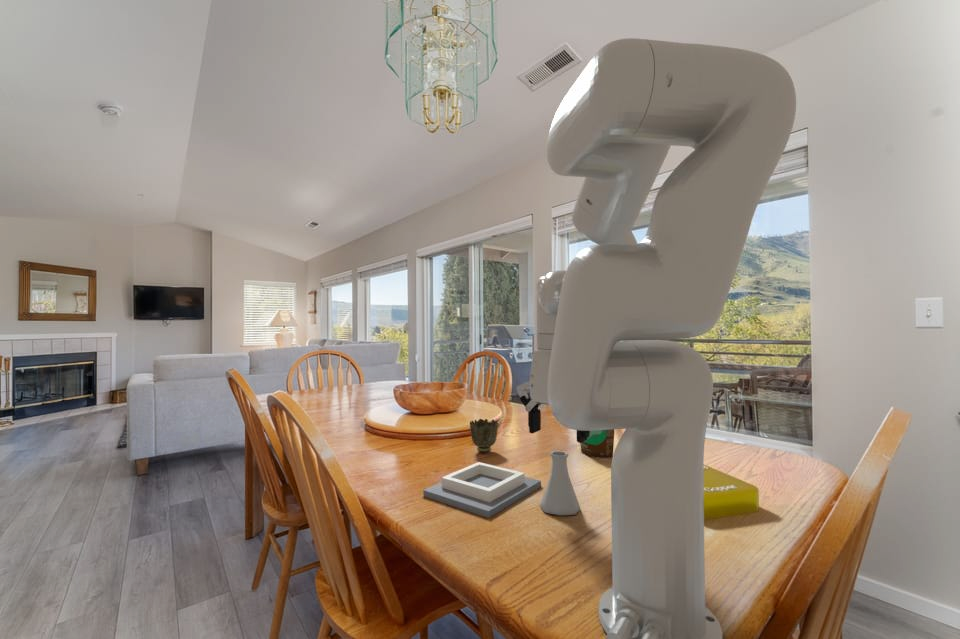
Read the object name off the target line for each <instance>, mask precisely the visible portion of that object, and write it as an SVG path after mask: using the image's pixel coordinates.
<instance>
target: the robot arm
mask: <svg viewBox="0 0 960 639" xmlns="http://www.w3.org/2000/svg"><path fill="white" fill-rule="evenodd" d="M796 95H797V94H796V89H795V84H794V82H793V78H792V77H791V75H790V74H789V71H787V69H786V68H785V67H784V66H783V65H782V64H781V63H780V62H779V61H777V60H775V59H773V58H771V57H770V56H767V55H765V54H762V53H759V52H756V51H751V50H747V49H746V50H745V49H741V48H735V47H731V46H721V45H712V44H700V43H689V42H688V43H687V42H686V43H685V42H674V41H666V40H665V41H664V40H656V39H647V38H636V37H635V38H633V37H631V38H630V37H629V38H621V39H615V40H613V41H610V42H609V43H606V44H605V45H604V46H602V47H601V48H600V49H599V50H598V51H597V52H596V53H595V54H594V55H593V57H592V58H591V59H590V60H589V62H588V63H587V65H586V66H585V67H584V69H583V70H582V72H581V73H580V75H579V76H578V78H577V79H576V81H574V83H573V85H572V86H571V87H570V89H569V90H568V92H567V93H566V95H565V96H564V97H563V100H562V101H561V102H560V105H559V107H558V108H557V110H556V112H555V115H554V118H553V119H552V121H551V122H552V123H551V125H550V129H549V132H548V135H547V136H548V137H547V143H546V156H547V157H546V158H547V159H546V160H547V161H548V162H547V163H548V165H549V168H550V169H551V170H552V171H553V172H554V173H555V175H558V176H562V177H578V178H579V177H581V178H583V180H582V184H581V187H580V189H579V193H578V196H577V198H576V201H575V204H574V207H573V210H572V215H571V219H572V224H573V225H574V227H575V229H576V230H577V231H578V232H579V233H580V235H582V236H583V237H585V238H586V239H588V240H589V241H591V242H592V243H595V244H592V245H589V246H587V247H585V248H583V249H581V250H580V251H579V252H577V254H576V255H575V256H574V257H573V258H572V260H571V261H570V263H569V265H568V266H567V269H566V270H554V271H550V272H548V273H546V274H545V275H543V276H541V277H540V278H539V279H538V280H537V283H536V349H534V350H533V354H532V359H531V366H530V373H529V374H530V375H529V380H528V381H525V382H523V383H521V384H520V385H517V386H516V392H517V394H518V396H519V397H520V398H519V399H520V403H522V405H523V406H524V407H525V408H524V409H525V411H526V412H527V418H528V420H527V422H528V424H527V425H528V428H529V429H528V433H529V434H534V433H538V432H539V431H541V429H542V427H541V426H542V422H541V421H542V416H541V415H542V414H541V409H539V407H540V406H541V405H546V406H549V407H550V408H549V409H550V411H551V414H552V415H553V417H554V419H555V420H556V421H557V422H558V423H559V424H560V425H562V427H564V428H566V429H569V430H573V431H576V442H577V443H579V444H580V443H582V442H584V441H585V440H587V439H588V437H589V434H590V431H593V430H611V429H615V430H624V429H625V430H624V431H623V433H622V435H621V437H620V439H619V441H618V442H617V444H616V446H615V448H614V450H613V457H611V458H612V459H611V466H610V488H611V489H610V491H611V493H610V501H611V506H610V507H611V509H610V510H611V560H612V561H611V566H612V567H611V569H612V570H611V571H612V573H611V574H612V578H611V579H612V586H611V587H610V588H607V590H606V591H605V592H604V593H603V594H602V595H601V597H600V599H599V602H598V616H599V617H598V618H599V622H600V625H601V627H602V629H603V631H604V632H605V633H606V636H605V639H723V630H722V626H721V624H720V622H719V620H718V618H717V617H716V616H715V615H714V614H713V612H712V611H711V610H710V609H709V608H708V607H707V606H706V576H705V575H706V571H705V570H706V567H705V566H706V564H705V563H706V562H705V559H706V558H705V520H704V493H703V492H704V477H703V473H704V471H703V470H704V465H705V464H704V459H705V458H704V457H705V456H704V455H705V442H706V435H707V434H706V433H707V427H708V423H709V422H708V421H709V417H710V413H711V408H712V403H713V402H712V401H713V394H714V379H713V373H712V371H711V368H710V366H709V364H708V361H707V360H706V359H705V357H704V356H703V355H702V354H701V353H700V352H699V351H698V350H696V349H695V348H693V347H692V346H689V345H687V344H685V343H683V342H680V341H679V342H677V341H674V340H679V339H690V338H696V337H699V336H702V335H703V336H704V335H705V334H707V333H708V332H710V331H712V329H713V328H714V327H715V325H716V324H717V323H718V321H719V319H720V316H721V314H722V313H723V310H724V307H725V305H726V302H727V299H728V295H729V293H730V290H731V287H732V284H733V281H734V278H735V274H736V271H737V269H738V265H739V263H740V262H739V261H740V260H741V256H742V254H743V250H744V247H745V244H746V241H747V238H748V235H749V231H750V228H751V225H752V222H753V218H754V215H755V212H756V209H757V207H758V204H759V202H760V200H761V197H762V195H763V193H764V191H765V189H766V187H767V184H769V181H770V179H771V177H772V175H773V174H774V171H775V169H776V168H777V165H778V164H779V161H780V160H781V158H782V156H783V154H784V151H785V149H786V147H787V144H788V142H789V140H790V136H791V134H792V131H793V128H794V127H793V126H794V122H795V120H796V114H797V113H796V111H797V96H796ZM671 146H675V147H676V146H677V147H679V146H680V147H690V148H692V149H694V150H693V151H692V152H691V153H690V154H688V155H687V156H686V157H685V158H684V159H683V160H681V162H680V163H679V164H678V165H677V166H676V167H675V168H674V170H673V171H672V172H671V173H670V174H669V176H668V177H667V178H666V179H665V181H664V182H663V183H662V185H661V187H660V188H659V190H658V191H657V194H656V196H655V199H654V201H653V206H652V208H651V214H650V220H649V224H648V227H647V230H646V233H645V236H644V238H643V239H642V240H641V241H640V242H638V241H637V239H636V237H635V235H634V233H633V231H632V230H633V228H634V225H635V224H636V222H637V219H638V217H639V215H640V213H641V212H642V208H643V207H644V204H645V202H646V200H647V198H648V196H649V194H650V191H651V190H652V188H653V185H654V183H655V181H656V180H657V179H656V178H657V177H658V175H659V173H660V170H661V168H662V166H663V164H664V161H665V160H666V158H667V155H668V153H669V150H670V149H671ZM672 340H673V341H672ZM528 390H529V395H528V392H527V391H528Z"/></svg>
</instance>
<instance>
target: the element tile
mask: <svg viewBox="0 0 960 639" xmlns="http://www.w3.org/2000/svg"><path fill="white" fill-rule="evenodd" d="M703 471H704V473H703V477H704V492H703V493H704V521H705V520H710V519H719V518H725V517H726V518H727V517H733V516H740V515H745V514H753V513H757V512H759V511H760V501H759V500H760V493H759V492H760V490H759V487H757V486H756V485H753V484H751V483H749V482H747V481H744V480H742V479H740V478H737V477H734V476H733V475H730V474H728V473H725V472H722V471H720V470H718V469H715V468H713V467H711V466H708V465H706V464H704V470H703Z"/></svg>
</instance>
